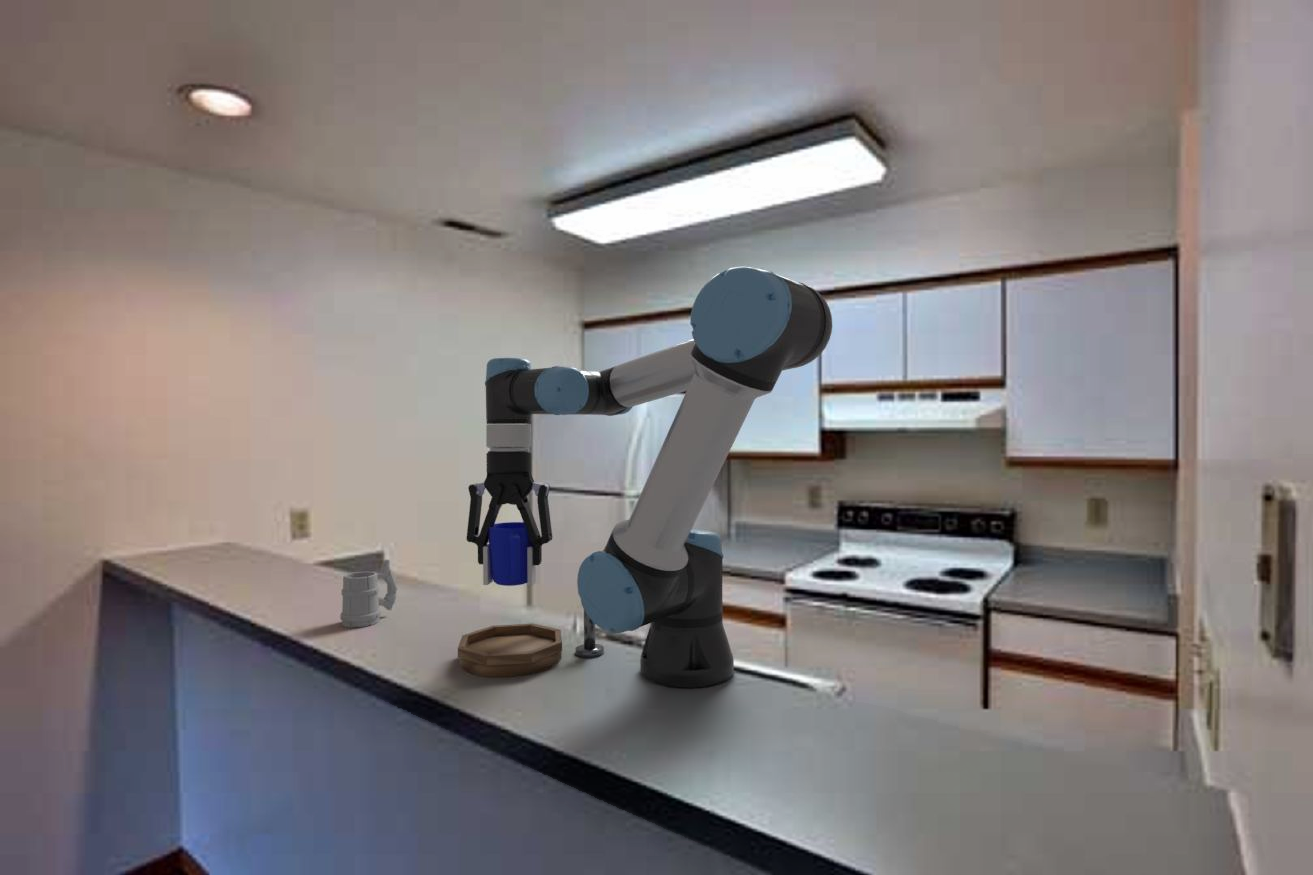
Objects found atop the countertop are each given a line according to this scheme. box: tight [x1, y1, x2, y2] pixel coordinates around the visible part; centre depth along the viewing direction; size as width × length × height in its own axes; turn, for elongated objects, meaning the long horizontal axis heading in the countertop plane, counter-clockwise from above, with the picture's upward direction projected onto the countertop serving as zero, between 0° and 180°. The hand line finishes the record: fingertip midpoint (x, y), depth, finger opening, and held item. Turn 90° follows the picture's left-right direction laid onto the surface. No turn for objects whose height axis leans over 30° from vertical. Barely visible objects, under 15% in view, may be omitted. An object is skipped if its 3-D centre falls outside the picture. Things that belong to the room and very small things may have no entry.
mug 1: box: [339, 559, 398, 629], centre depth 142 cm, size 8×12×12 cm, turn 143°
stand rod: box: [574, 609, 605, 658], centre depth 121 cm, size 5×5×8 cm
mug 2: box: [488, 521, 532, 587], centre depth 118 cm, size 8×12×10 cm
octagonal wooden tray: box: [457, 623, 563, 678], centre depth 118 cm, size 17×17×4 cm
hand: (510, 583), depth 118 cm, fingers closed on mug 2, 7 cm apart
